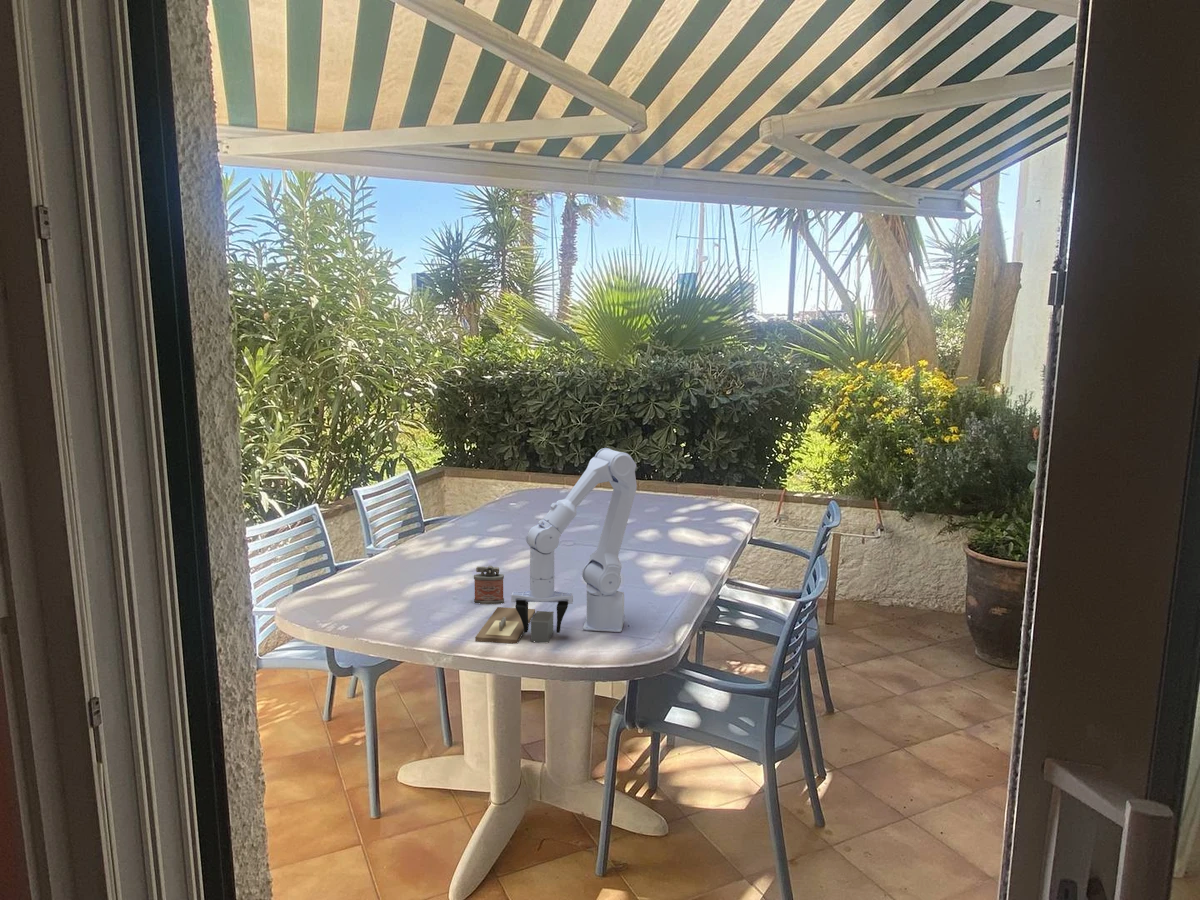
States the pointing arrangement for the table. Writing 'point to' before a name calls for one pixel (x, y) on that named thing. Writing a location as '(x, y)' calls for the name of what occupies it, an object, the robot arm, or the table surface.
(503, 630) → the pin board
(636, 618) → the table surface
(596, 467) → the robot arm
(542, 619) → the block
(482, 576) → the lighter
